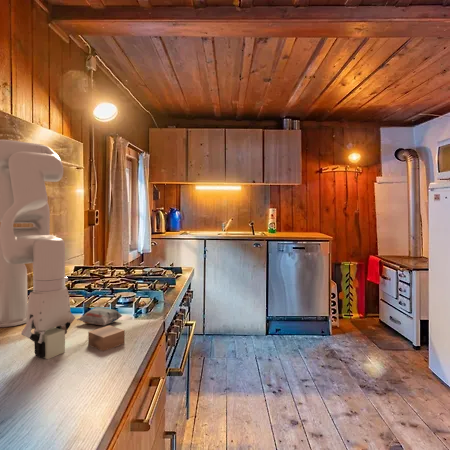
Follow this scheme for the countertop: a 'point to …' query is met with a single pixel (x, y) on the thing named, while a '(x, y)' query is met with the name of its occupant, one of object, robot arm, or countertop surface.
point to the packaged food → (100, 316)
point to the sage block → (54, 342)
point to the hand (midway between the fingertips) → (50, 351)
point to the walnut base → (106, 337)
